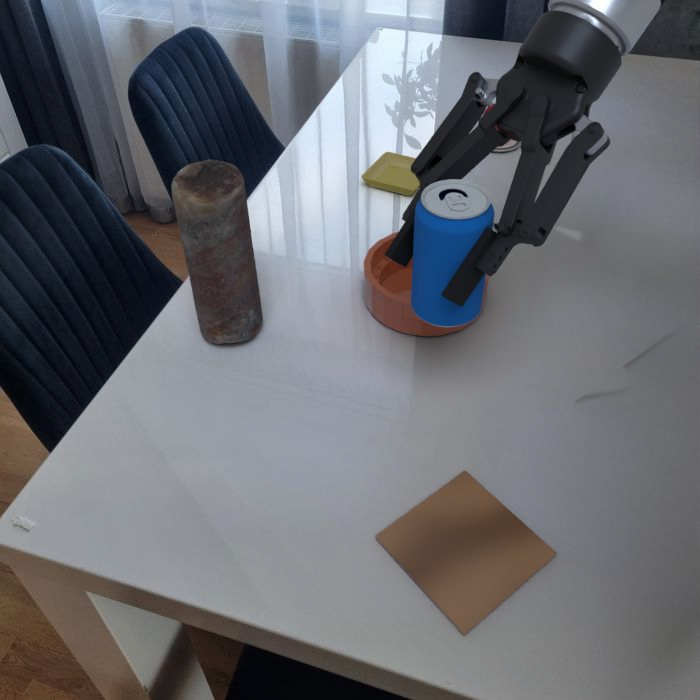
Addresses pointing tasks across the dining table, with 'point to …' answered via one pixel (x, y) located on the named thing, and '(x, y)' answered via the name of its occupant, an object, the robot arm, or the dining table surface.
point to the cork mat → (465, 551)
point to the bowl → (397, 293)
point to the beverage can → (447, 248)
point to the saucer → (392, 174)
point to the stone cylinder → (218, 250)
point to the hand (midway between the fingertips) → (422, 280)
